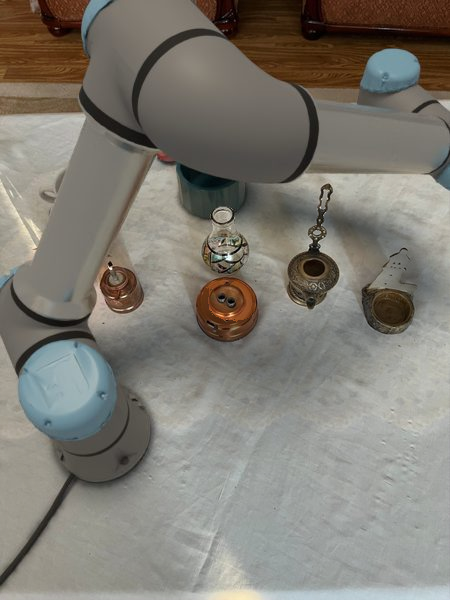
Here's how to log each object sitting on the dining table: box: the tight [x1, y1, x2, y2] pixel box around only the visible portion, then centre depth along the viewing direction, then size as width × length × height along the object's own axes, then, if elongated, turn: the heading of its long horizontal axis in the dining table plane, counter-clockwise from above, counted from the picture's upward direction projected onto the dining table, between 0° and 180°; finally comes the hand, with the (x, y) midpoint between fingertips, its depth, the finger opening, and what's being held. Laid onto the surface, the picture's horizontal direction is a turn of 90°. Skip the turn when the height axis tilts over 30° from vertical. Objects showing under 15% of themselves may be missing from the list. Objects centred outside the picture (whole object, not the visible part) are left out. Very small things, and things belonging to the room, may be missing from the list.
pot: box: [175, 161, 246, 220], centre depth 107 cm, size 14×14×8 cm
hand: (184, 104), depth 92 cm, fingers closed on lid, 3 cm apart
